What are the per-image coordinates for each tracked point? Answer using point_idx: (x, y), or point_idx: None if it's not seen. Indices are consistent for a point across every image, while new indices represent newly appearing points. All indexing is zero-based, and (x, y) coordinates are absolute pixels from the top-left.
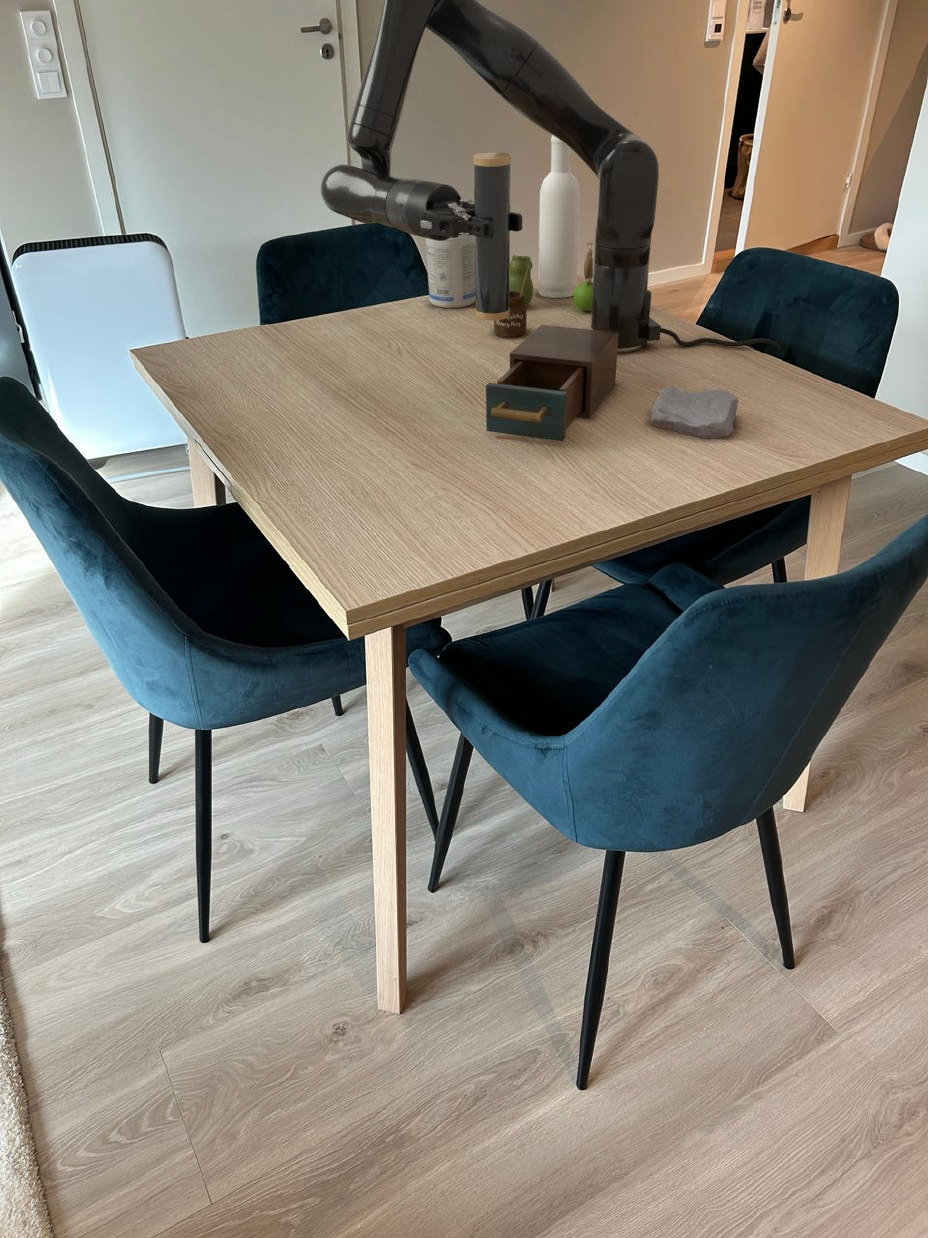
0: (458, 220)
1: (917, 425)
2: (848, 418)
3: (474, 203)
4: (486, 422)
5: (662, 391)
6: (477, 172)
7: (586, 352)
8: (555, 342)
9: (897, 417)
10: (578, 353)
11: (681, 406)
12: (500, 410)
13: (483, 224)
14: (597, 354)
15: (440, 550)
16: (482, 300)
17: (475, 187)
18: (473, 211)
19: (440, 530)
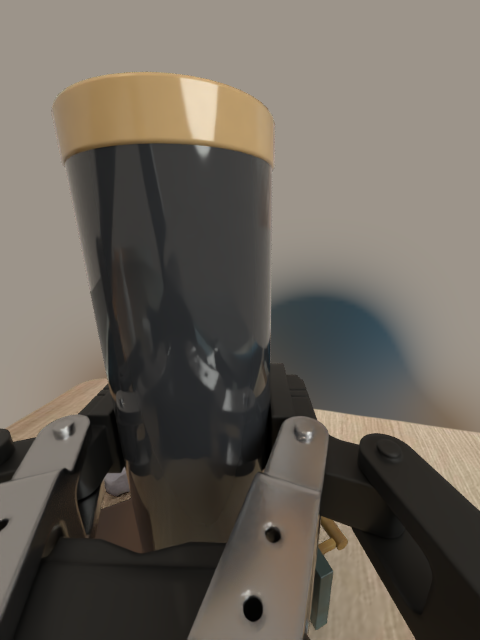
0: (345, 471)
1: (91, 380)
2: (88, 400)
3: (251, 379)
4: (327, 613)
5: (109, 478)
6: (271, 207)
7: (124, 520)
8: None
9: (79, 387)
10: (133, 527)
11: None
12: (336, 526)
13: (295, 377)
14: (128, 501)
15: (468, 454)
16: None
17: (266, 289)
18: (114, 549)
19: (464, 475)
